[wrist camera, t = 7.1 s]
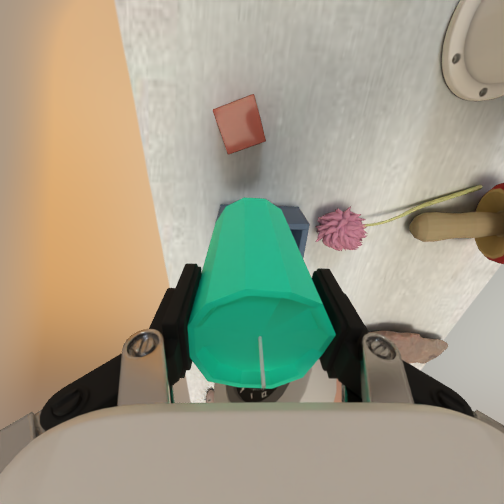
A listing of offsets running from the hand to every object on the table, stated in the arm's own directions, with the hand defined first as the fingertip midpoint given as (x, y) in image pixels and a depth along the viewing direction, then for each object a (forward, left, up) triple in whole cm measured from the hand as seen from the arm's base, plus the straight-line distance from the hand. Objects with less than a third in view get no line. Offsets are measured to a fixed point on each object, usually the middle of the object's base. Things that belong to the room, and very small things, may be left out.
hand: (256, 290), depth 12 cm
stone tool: (+35, +45, -23) cm, 61 cm away
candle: (0, 0, -7) cm, 7 cm away
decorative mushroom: (+3, +32, -23) cm, 39 cm away
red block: (-7, -1, -23) cm, 24 cm away
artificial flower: (+2, +22, -23) cm, 31 cm away
